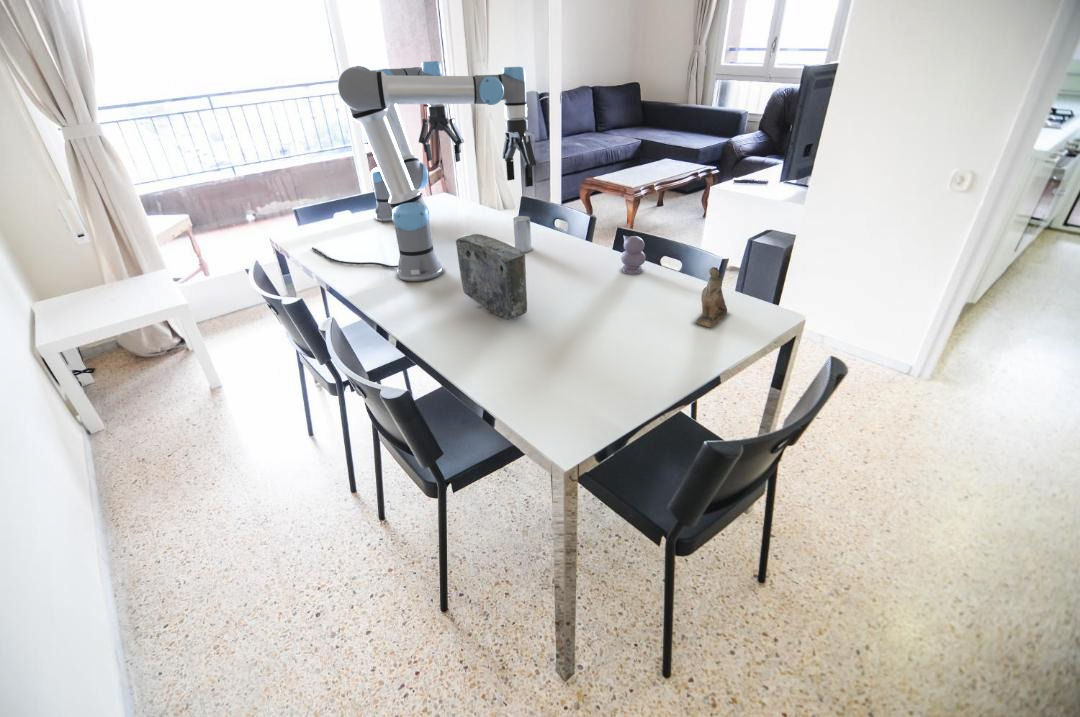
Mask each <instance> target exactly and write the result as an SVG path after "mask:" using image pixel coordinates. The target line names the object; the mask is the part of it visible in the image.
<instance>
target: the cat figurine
mask: <svg viewBox="0 0 1080 717" xmlns="http://www.w3.org/2000/svg"><path fill="white" fill-rule="evenodd" d="M623 249H624V250H623V252H622V253H621V255H620V260H621V262H622V264H623V265H622V273H624V274H628V275H637V274H640V273H642V265H644V264H645V262H646V254H645V253H644V252H643V251H644V249H645V242H644V239H642V238H641V236H637V235H631V236H627V235H624V234H623Z"/></svg>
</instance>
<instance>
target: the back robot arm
mask: <svg viewBox="0 0 1080 717" xmlns="http://www.w3.org/2000/svg"><path fill="white" fill-rule="evenodd" d="M370 71H379V72H384V73H385V74H386V75H387V76H444V75H443V70H442V64H441V62H440V61H438V60H435V61H433V60H432V61H422V63H421V67H420V66H414V67H401V68H381V69H374V70H371V69H370ZM426 105H427V113H428V118H422V126H421V130H420V134H419V137H418V143H419V144H422V145H423V150H424V153H425V154H426V161H427V162H430V161H432V160H433V156H432V150H431V143H429V142H430V140H431V138H432V136H433V135H434V133H435V132H442V131H444V133H446V134H447V136H448V137H449V138H450V140H451V141H452V142H453V143H454V145H453V149H454V159H455V163H458V162H460V161H461V155H460V154H461V153H462V148H461V144H463V143H465V139H464V137H463V135H462V134H461V131H460V130H459V128H458V125H457V124H456V119H455V118H454V117H452V118H449V119H448V110H447V106H446V104H426ZM386 117H387V120H388V122H389V125H390V128H391V130H392V133H393V135H394V138H395V140H396V143H397V146H398V148H399V151H400V153H401V156H402V159H403V161H404V164H405V166H406V169H407V171H408V174H409V177H410V179H411V182H412V184H413V187H414V188H415V189H417V190H421V189H424V188H426V186H427V185H428V181H429V172H428V168H427V166H426V165H425V164H424V163H423V162H420V161H419V157H417V156H415V155H414V152H413V149H412V146H411V143H410V140H409V137H408V134H407V130H406V128H405V126H404V122H403V120H402V117H401V113H400V110H399V107H398V104H391V105H390V106H389V107H388V111H387V113H386ZM448 124H449V125H450V126H449V125H448ZM429 125H430V127H429ZM428 127H429V129H428ZM450 127H451V128H450ZM370 178H371V182H372V187H373V188H372V189H373V192H374V198H375V203H376V204H375V210H374V212H375V214H374V217H375V220H376V221H378V222H386V223H387V222H393V219H392V217H393V215H392V209H391V207H390V204H389V199H390V196H391V195H390V193H389V191H388V188H387V186H386V184H385V181H384V179H383V176H382V174H381V172H380V169H379V167H378V166H376V167H374V168H373V169H371V171H370ZM420 193H421V196H422V195H423V192H421V191H420Z"/></svg>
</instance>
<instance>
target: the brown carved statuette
mask: <svg viewBox="0 0 1080 717" xmlns="http://www.w3.org/2000/svg"><path fill="white" fill-rule="evenodd" d="M708 273H709V275H710V276H709V278H708V279H707V280H708V281H707V284H706V286H705V287H704V288H703V290H702V292H701V297H700V298H701V309H702V312H701V315H700V316H699V317H698V318H697V319H696V321H695V324H696V325H699V326H703V327H705V328H712V327H714V326H715V325H716V324H717V323H719V321H721V320H722V319H723V318H725V317H726V316H727V315H728V307H727V304H726V301H725V298H724V293H723V290H722V287H723V281H722V279H721V278H720V270H719V269H718V268H717V267H715V266H712V267H711V268H710V269H709V270H708Z"/></svg>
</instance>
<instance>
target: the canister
mask: <svg viewBox="0 0 1080 717" xmlns="http://www.w3.org/2000/svg"><path fill="white" fill-rule="evenodd" d="M512 220H513V221H512V222H513V233H514V234H513V236H514V237H513V238H514V247H515V248H517V249H518V250H520V251H522V252H523V253H528V252H531V251H532V236H531V235H532V234H531V233H532V232H531V217H530V216H527V215H517V216H515V217H513V218H512Z"/></svg>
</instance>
